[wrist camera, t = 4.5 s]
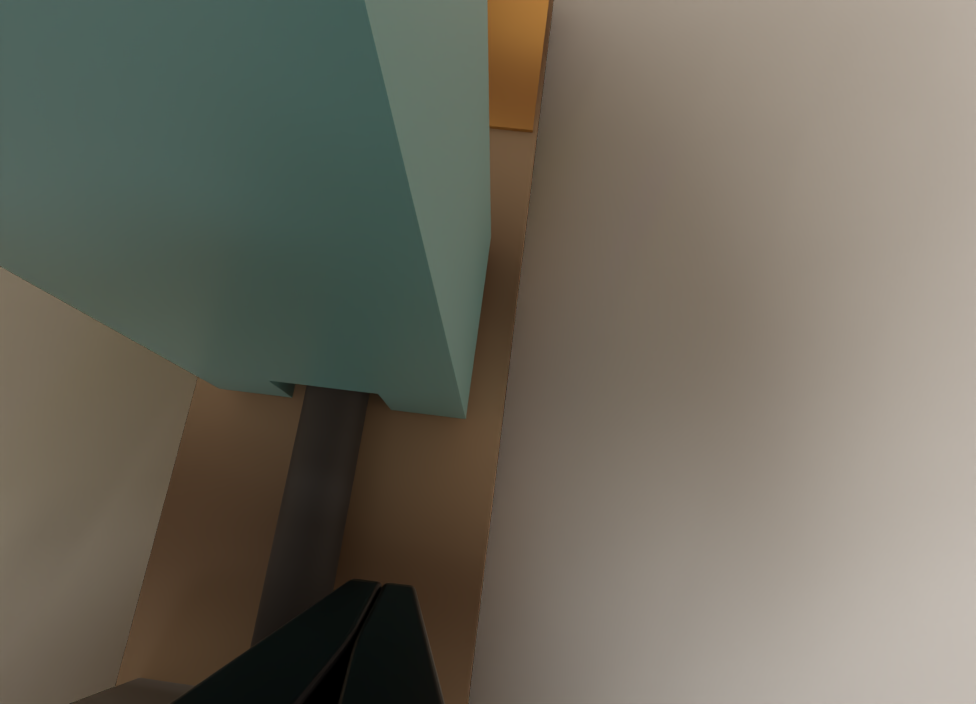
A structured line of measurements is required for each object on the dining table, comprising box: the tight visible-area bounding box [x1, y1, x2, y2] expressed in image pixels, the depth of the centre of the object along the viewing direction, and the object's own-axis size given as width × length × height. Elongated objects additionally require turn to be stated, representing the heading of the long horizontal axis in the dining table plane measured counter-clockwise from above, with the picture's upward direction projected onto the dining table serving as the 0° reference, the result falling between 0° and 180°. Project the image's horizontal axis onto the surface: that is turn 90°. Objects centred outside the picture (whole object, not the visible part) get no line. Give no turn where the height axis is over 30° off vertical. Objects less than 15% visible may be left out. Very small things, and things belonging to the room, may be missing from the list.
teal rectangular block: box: [0, 0, 491, 419], centre depth 8 cm, size 4×5×10 cm
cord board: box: [70, 0, 554, 704], centre depth 13 cm, size 20×6×4 cm, turn 173°
